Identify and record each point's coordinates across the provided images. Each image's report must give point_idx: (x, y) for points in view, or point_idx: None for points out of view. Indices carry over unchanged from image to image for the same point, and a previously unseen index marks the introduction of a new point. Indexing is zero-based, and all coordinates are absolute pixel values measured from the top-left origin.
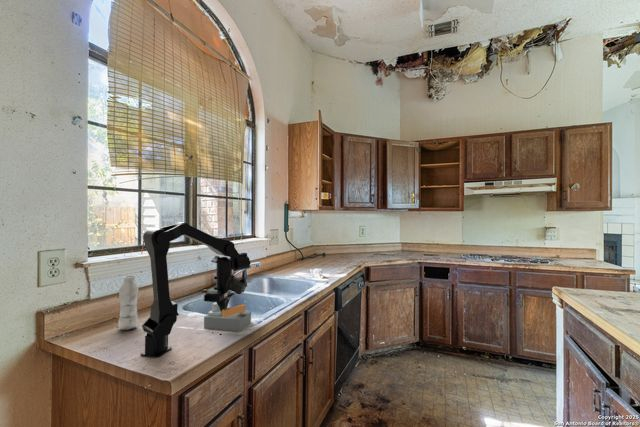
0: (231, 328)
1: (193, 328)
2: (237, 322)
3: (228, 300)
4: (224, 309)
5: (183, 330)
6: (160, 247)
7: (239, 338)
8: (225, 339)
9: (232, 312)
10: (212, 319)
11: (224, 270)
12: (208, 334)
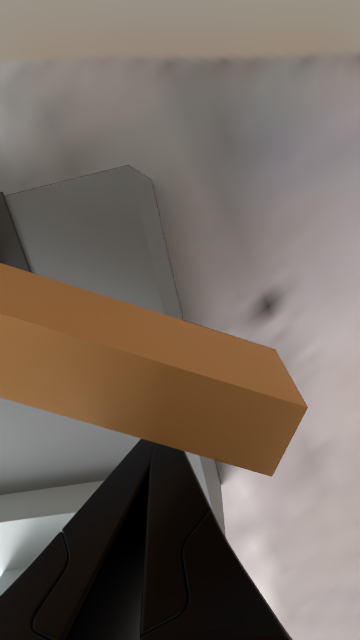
0: (169, 272)
1: (253, 537)
2: (145, 206)
3: (35, 625)
4: (250, 445)
5: (305, 564)
6: None
7: (290, 62)
8: (354, 186)
9: (134, 318)
10: (210, 491)
11: None
12: (307, 388)
